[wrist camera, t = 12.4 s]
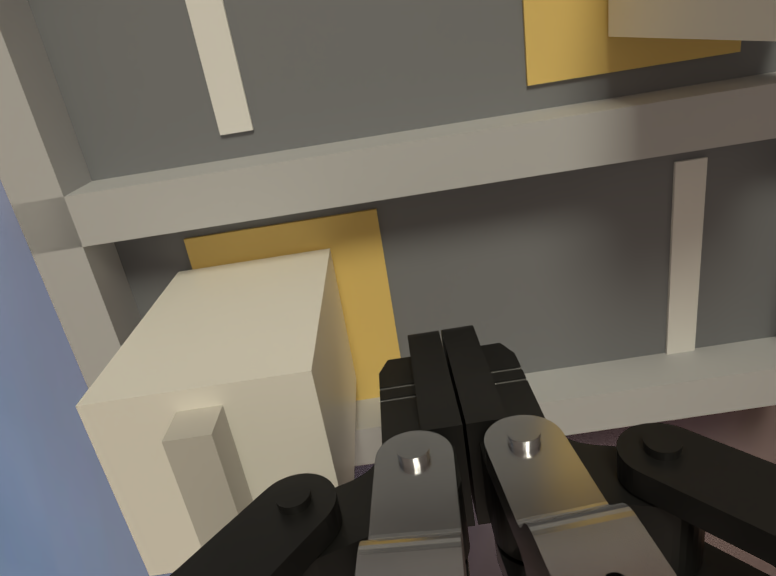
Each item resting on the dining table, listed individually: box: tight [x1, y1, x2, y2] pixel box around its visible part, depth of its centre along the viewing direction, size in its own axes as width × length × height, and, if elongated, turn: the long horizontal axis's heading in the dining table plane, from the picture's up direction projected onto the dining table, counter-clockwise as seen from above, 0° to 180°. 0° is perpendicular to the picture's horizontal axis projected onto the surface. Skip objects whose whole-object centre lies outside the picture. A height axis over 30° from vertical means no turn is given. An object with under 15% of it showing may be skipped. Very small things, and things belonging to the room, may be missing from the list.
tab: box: [76, 248, 356, 576], centre depth 13 cm, size 4×4×7 cm
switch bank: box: [0, 0, 776, 466], centre depth 15 cm, size 20×16×3 cm
